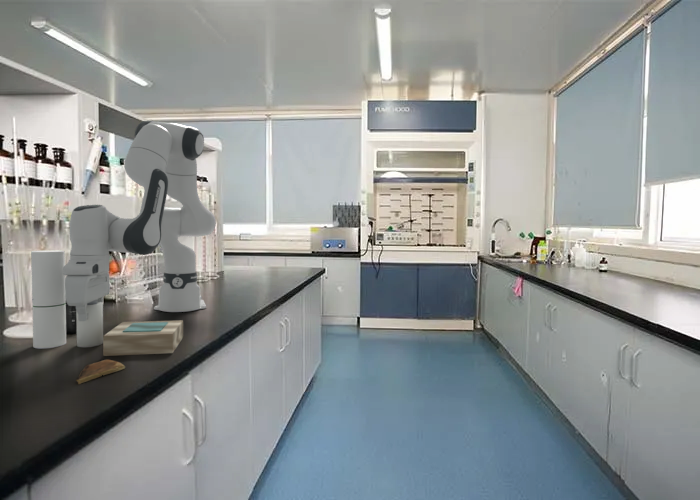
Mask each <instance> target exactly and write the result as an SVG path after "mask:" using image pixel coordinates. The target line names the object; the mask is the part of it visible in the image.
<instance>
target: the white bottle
mask: <svg viewBox="0 0 700 500" xmlns="http://www.w3.org/2000/svg"><path fill="white" fill-rule="evenodd" d="M103 307H104V302H103V303H102V302H98V300H97V299H96V300H94V301H92V302H90V303H87V308H86V310H87V313H88V320H86V321H79V320H78V313H77V310H76V318H77V333H76V346H77V347H78V348H93V347H97V346H101V345H103V336H104V311H103V310H104V308H103Z"/></svg>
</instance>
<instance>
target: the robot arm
mask: <svg viewBox="0 0 700 500" xmlns="http://www.w3.org/2000/svg"><path fill="white" fill-rule="evenodd" d="M204 148H205V138H204V134H203V133H202V132H201V130H200V129H198V128H196V127H194V126H187V125H183V124H180V123H175V122H163V121H154V120H143V121H141V122H140V123H138V125H136V128H135V130H134V139H133V141H132V142H131V144H130V147H129V149H128V151H127V154H126V156H125V160H124V166H123V168H124V170H125V173H126V175H127V176H128V178H129V179H131V181H133V182H135V183H136V184H137V185H139V186H141V187H143V188H144V192H143V193H144V194H143V198H142V201H141V206H140V211H139V213H138V215H137V216H134V217H133V218H124V217H123V218H122V217H119V216H117V215H116V214H114V213H113V212H110V211H109V210H108V209H107V207H106V206H105V205H103V204H90V205H89V204H86V205H80V206H77V207H75V208H73V210H72V211H71V215H70V219H69V240H70V243H71V244H70V245H71V249H70V251H69V260H68V262H67V263H65V266H64V267H63V275H65V295H66V301H67V304H68V305H69V306H76V310H77V313H78V320H79V321H86V320H88V313H87V310H86V308H87V303H90V302H92V301H94V300H96V299H97V300H98V302H102V303H103V304H104V297H105V296H108V295H109V294H110V292H111V291H110V290H111V287H110V286H111V284H110V282H111V281H110V273H109V272H110V252H114V253H117V252H118V253H126V254H127V253H130V254H135V255H141V256H146V255H149V254H152V253H153V252H154V251H156V250H157V248H158V247H159V245H160V247H161V249H162V253H163V259H164V272H163V276H162V278H163V284H162V285H160V286H159V289H158V290H159V291H158V304H157V305H154V307H153V310H155V311H162V312H167V313H182V312H183V313H185V312H192V311H197V310H202V309H203V310H204V309H207V305H206V303H205V300H204V299H203V296H202V295H201V287H200V285H198V282H197V281H198V272H197V271H196V270H197V269H196V265H197V262H196V261H197V260H196V259H197V255H196V252H195V251H194V250H193V248H191V247H189V246H187V245H185V244H183V243H181V242H180V241H179V238H180V237H203V236H209V235H211V234H212V233H213V232H214V231H215V228H216V225H217V221H216V216H215V215H214V213H213V212H212V211H211V210H209V209H208V208H207V207H206V206H205V205H204V204H203V203H202V201H201V199H200V196H199V193H198V180H197V178H198V176H197V175H198V164H197V159H198V158H199V157H200V156H201V155H202V153H204ZM167 196H168V197H170V198H171V199H173V200H175V201H177V202H179V203H180V204H181V205H182V207H170V206H168V207H167V206H166V201H167Z"/></svg>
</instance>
